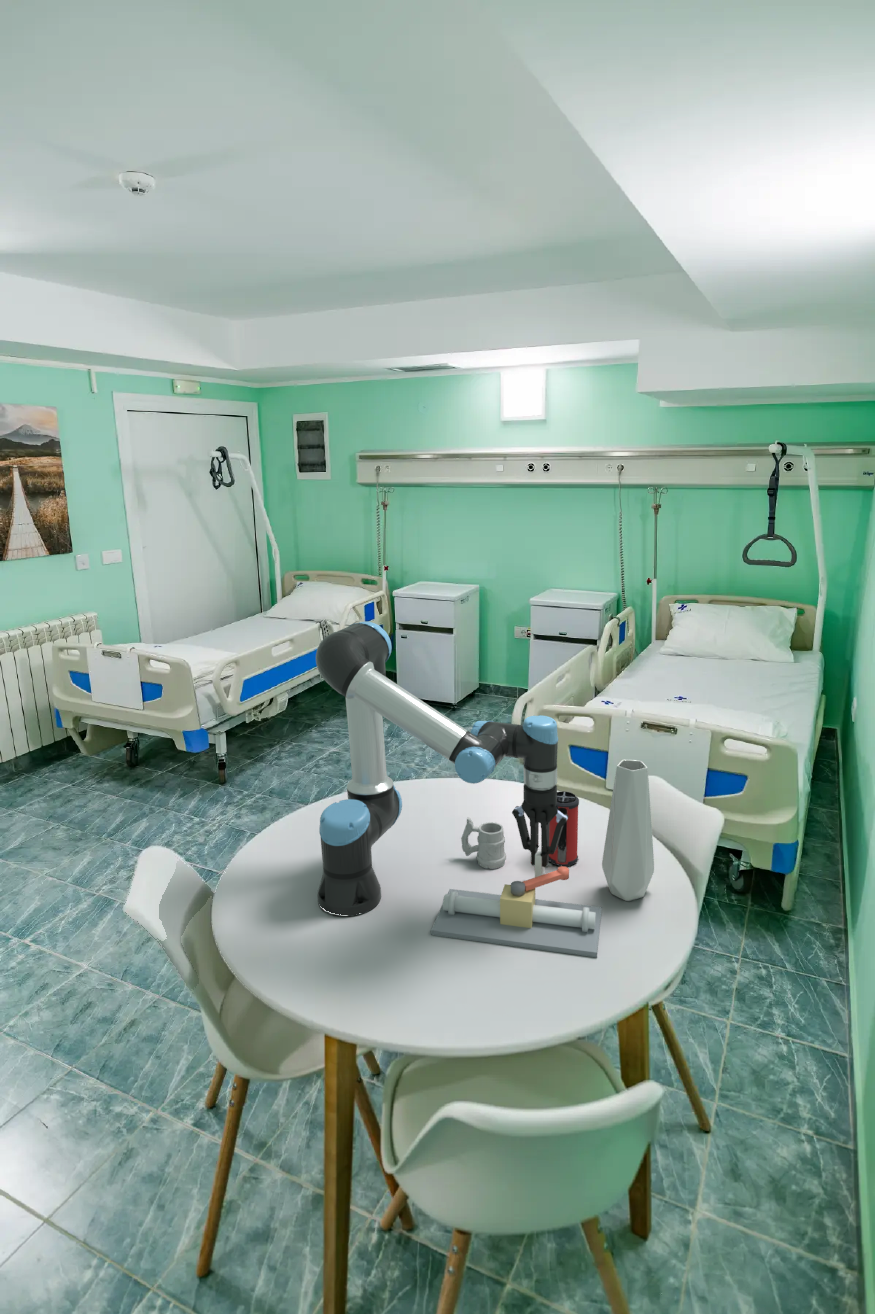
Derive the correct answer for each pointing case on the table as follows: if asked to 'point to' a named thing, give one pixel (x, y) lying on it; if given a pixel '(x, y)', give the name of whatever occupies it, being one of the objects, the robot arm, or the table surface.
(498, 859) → the mug
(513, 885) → the lever
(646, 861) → the vase
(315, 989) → the table surface
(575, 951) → the grey base plate
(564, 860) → the speaker
